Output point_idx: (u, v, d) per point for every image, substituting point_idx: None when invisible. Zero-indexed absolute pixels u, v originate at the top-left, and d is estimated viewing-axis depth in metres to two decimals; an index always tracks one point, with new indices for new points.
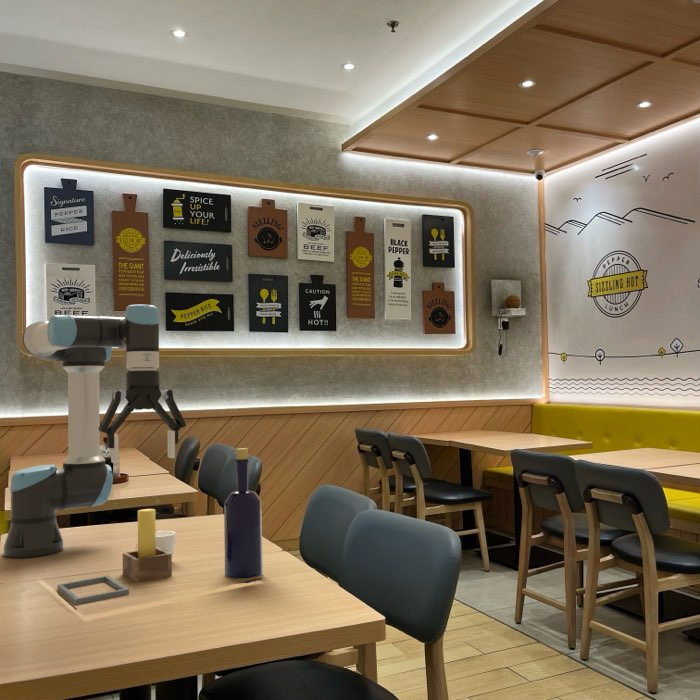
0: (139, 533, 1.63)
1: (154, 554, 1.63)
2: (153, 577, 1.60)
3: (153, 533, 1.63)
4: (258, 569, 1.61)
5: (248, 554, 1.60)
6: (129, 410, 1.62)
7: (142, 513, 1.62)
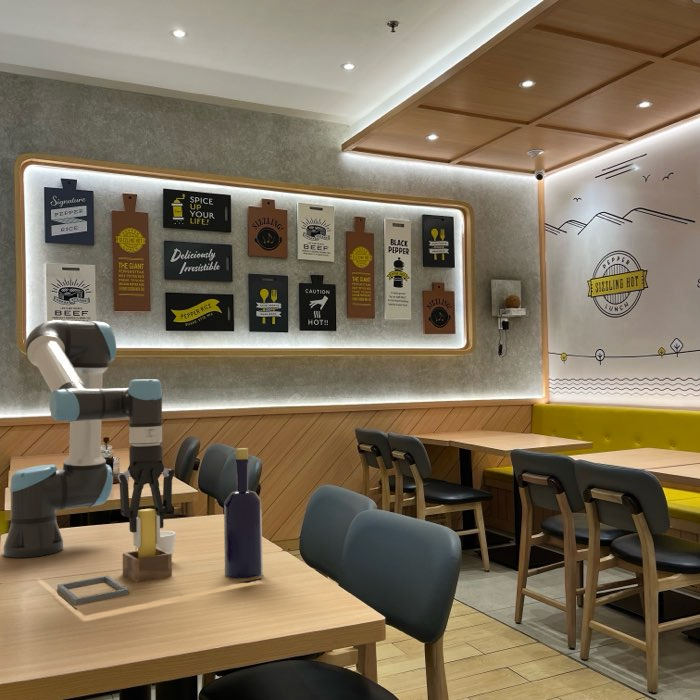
0: None
1: (154, 554, 1.63)
2: (153, 577, 1.60)
3: (153, 533, 1.63)
4: (258, 569, 1.61)
5: (248, 554, 1.60)
6: (139, 489, 1.62)
7: (142, 513, 1.62)
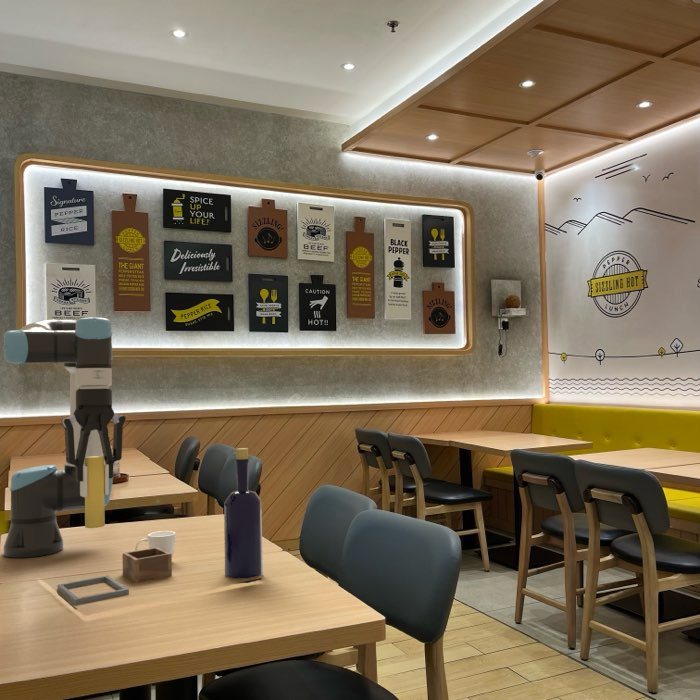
0: None
1: (102, 504, 1.52)
2: (153, 577, 1.60)
3: (101, 481, 1.52)
4: (258, 569, 1.61)
5: (248, 554, 1.60)
6: (86, 435, 1.51)
7: (89, 459, 1.51)
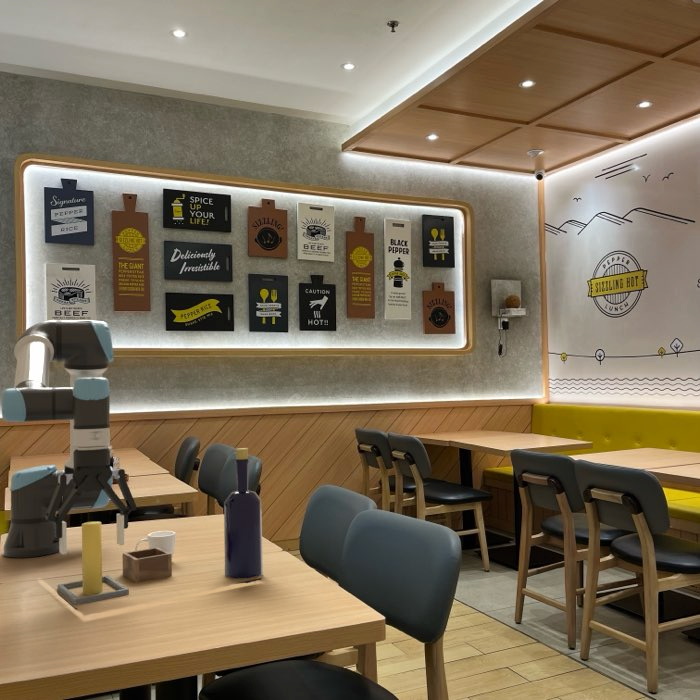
0: (83, 548, 1.50)
1: (100, 571, 1.51)
2: (153, 577, 1.60)
3: (98, 548, 1.51)
4: (258, 569, 1.61)
5: (248, 554, 1.60)
6: (77, 494, 1.49)
7: (86, 526, 1.50)
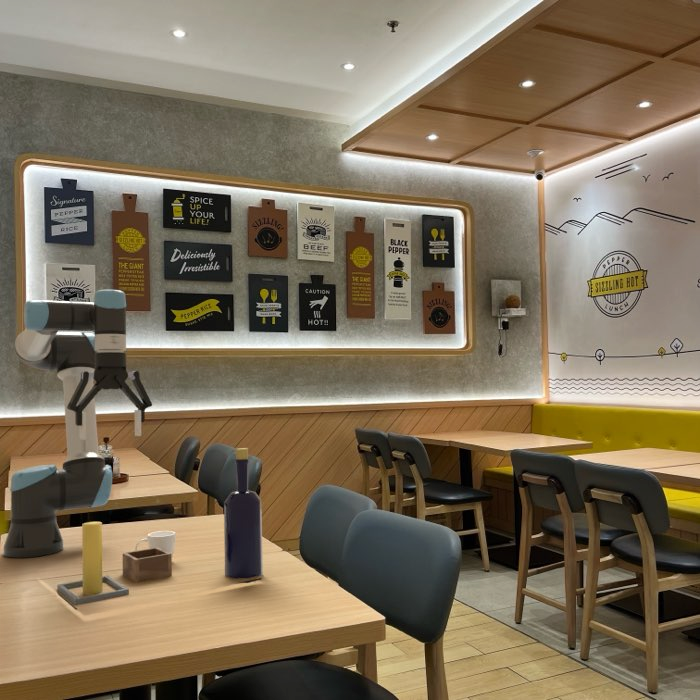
0: (83, 548, 1.50)
1: (100, 571, 1.51)
2: (153, 577, 1.60)
3: (99, 548, 1.51)
4: (258, 569, 1.61)
5: (248, 554, 1.60)
6: (97, 390, 1.70)
7: (87, 527, 1.50)
